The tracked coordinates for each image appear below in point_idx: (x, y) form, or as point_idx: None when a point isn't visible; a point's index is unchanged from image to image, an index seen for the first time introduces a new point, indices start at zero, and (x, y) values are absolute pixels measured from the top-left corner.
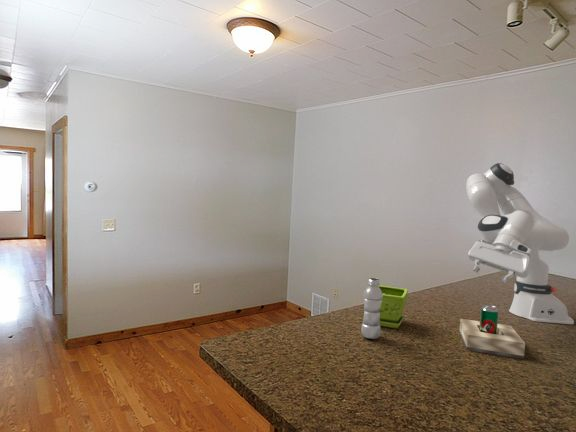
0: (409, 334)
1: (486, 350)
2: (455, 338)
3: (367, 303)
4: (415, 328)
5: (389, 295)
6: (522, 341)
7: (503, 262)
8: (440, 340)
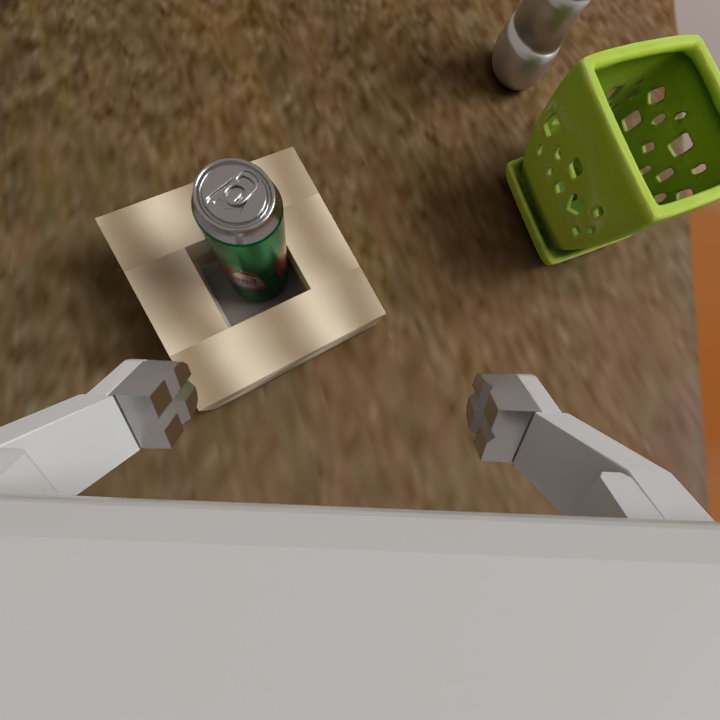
0: (461, 175)
1: None
2: (356, 255)
3: None
4: (477, 239)
5: (625, 46)
6: (108, 231)
7: (13, 623)
8: (379, 200)
